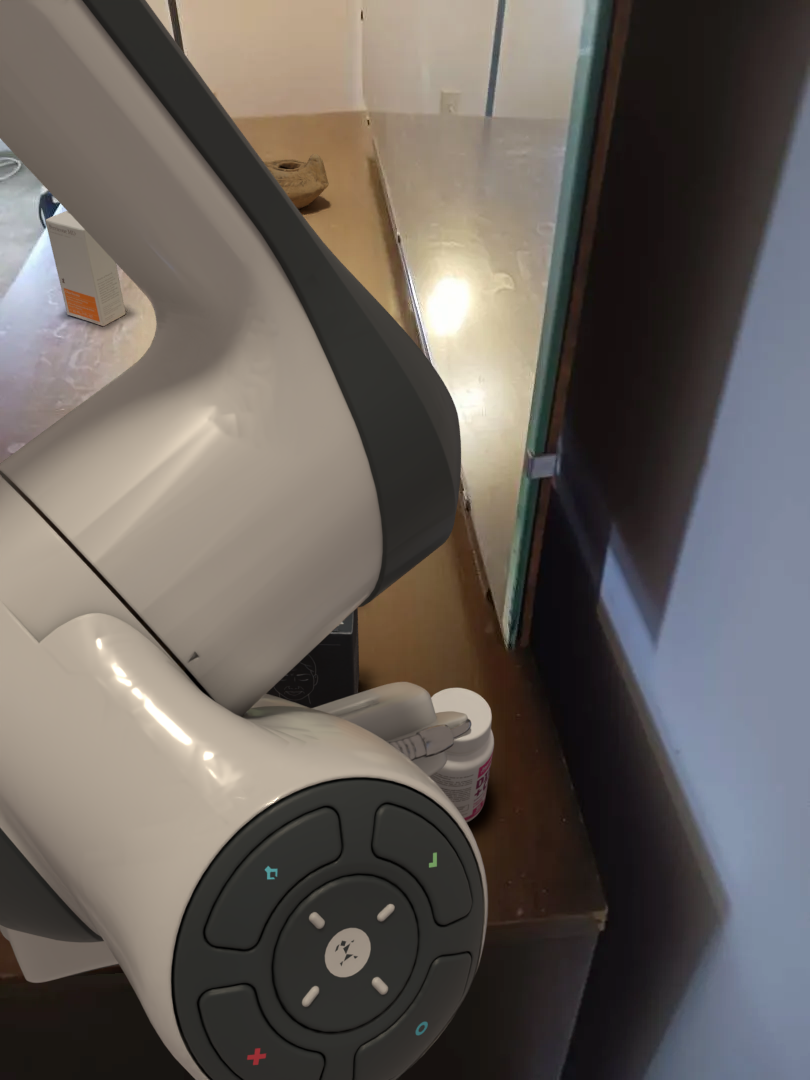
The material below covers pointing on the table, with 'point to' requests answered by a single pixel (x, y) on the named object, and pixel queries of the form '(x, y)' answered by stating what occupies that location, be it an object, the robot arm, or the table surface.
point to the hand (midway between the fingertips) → (209, 764)
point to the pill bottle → (466, 752)
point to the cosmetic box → (84, 272)
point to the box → (325, 669)
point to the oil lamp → (300, 178)
